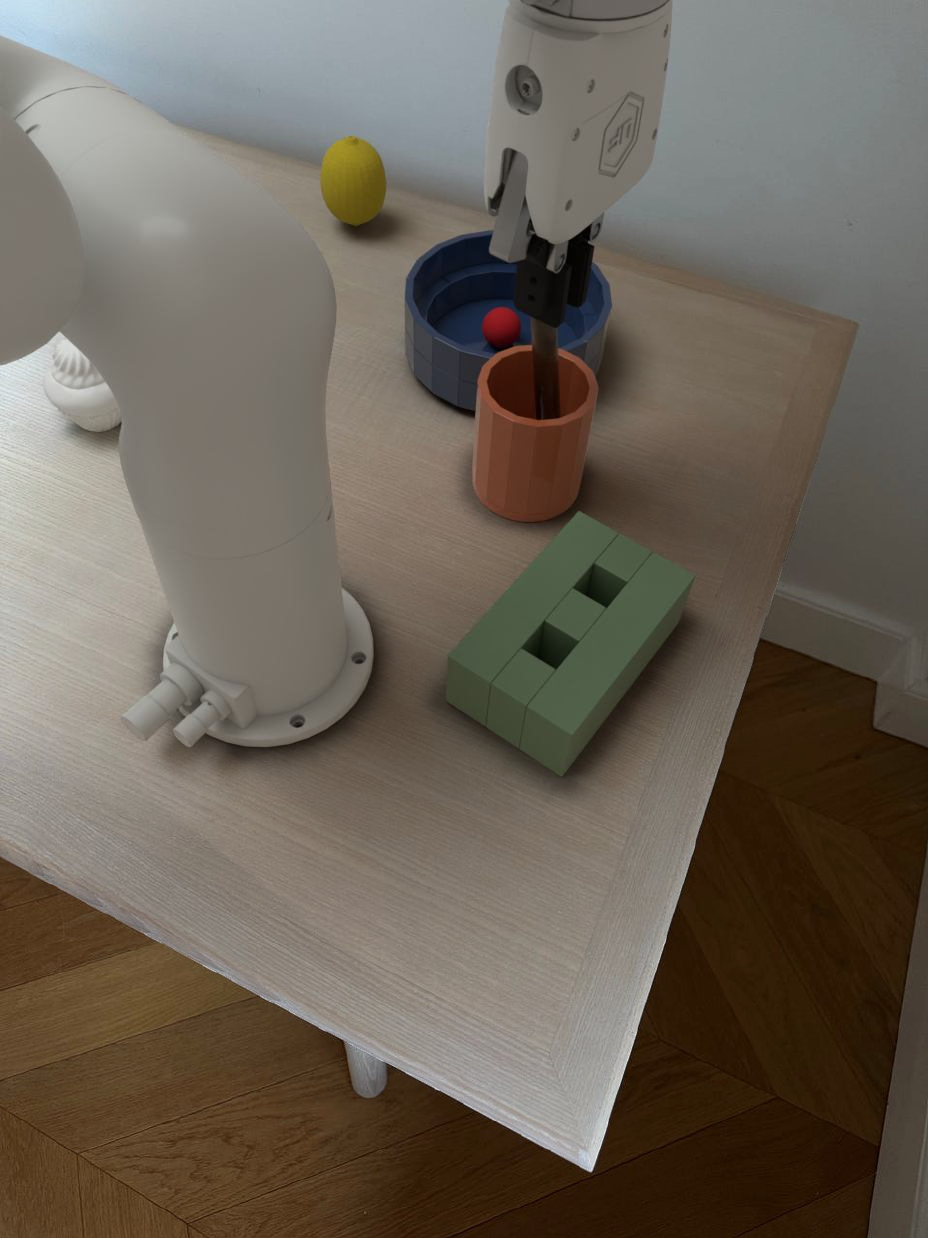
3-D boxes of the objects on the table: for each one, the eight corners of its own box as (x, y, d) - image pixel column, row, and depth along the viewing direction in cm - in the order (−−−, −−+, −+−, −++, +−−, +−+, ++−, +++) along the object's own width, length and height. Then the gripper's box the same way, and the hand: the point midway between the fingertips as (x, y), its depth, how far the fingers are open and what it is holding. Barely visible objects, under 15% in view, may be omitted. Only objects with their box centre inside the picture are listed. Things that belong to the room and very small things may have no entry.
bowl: (528, 453, 73) (536, 390, 68) (366, 365, 78) (362, 300, 73) (635, 345, 80) (649, 281, 75) (481, 271, 85) (484, 206, 80)
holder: (678, 622, 65) (696, 575, 60) (561, 777, 58) (572, 735, 54) (569, 559, 67) (578, 510, 63) (445, 701, 61) (447, 655, 56)
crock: (540, 539, 68) (555, 443, 61) (450, 488, 71) (454, 390, 63) (599, 475, 72) (620, 377, 65) (512, 428, 74) (522, 329, 67)
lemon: (391, 209, 90) (389, 121, 83) (382, 246, 87) (379, 158, 80) (330, 204, 90) (323, 116, 83) (318, 240, 87) (310, 152, 80)
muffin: (48, 403, 74) (17, 325, 68) (129, 378, 76) (106, 301, 70) (71, 458, 71) (41, 381, 65) (155, 431, 73) (133, 354, 67)
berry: (483, 333, 80) (471, 341, 77) (496, 297, 78) (485, 304, 75) (517, 349, 79) (506, 357, 77) (531, 313, 78) (520, 321, 75)
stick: (552, 447, 66) (543, 222, 54) (532, 439, 67) (518, 216, 55) (565, 433, 67) (558, 209, 55) (545, 426, 68) (534, 203, 56)
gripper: (566, 53, 39) (527, 406, 54) (749, -74, 47) (670, 267, 62) (414, -5, 42) (417, 349, 57) (612, -117, 49) (568, 221, 64)
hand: (549, 304), depth 59 cm, fingers closed on stick, 1 cm apart
